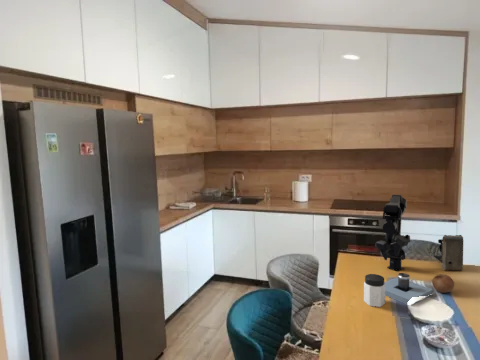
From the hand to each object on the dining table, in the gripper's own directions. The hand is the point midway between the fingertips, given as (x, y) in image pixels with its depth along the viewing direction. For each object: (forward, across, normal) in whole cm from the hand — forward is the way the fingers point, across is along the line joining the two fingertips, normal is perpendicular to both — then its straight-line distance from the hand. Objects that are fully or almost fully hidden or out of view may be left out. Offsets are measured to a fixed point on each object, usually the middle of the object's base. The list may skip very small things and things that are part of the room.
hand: (391, 258), depth 175 cm
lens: (+12, -8, -12) cm, 19 cm away
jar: (+12, -27, -10) cm, 31 cm away
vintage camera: (+12, +41, -7) cm, 43 cm away
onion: (+12, +8, -22) cm, 26 cm away
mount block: (+12, -8, -12) cm, 19 cm away
